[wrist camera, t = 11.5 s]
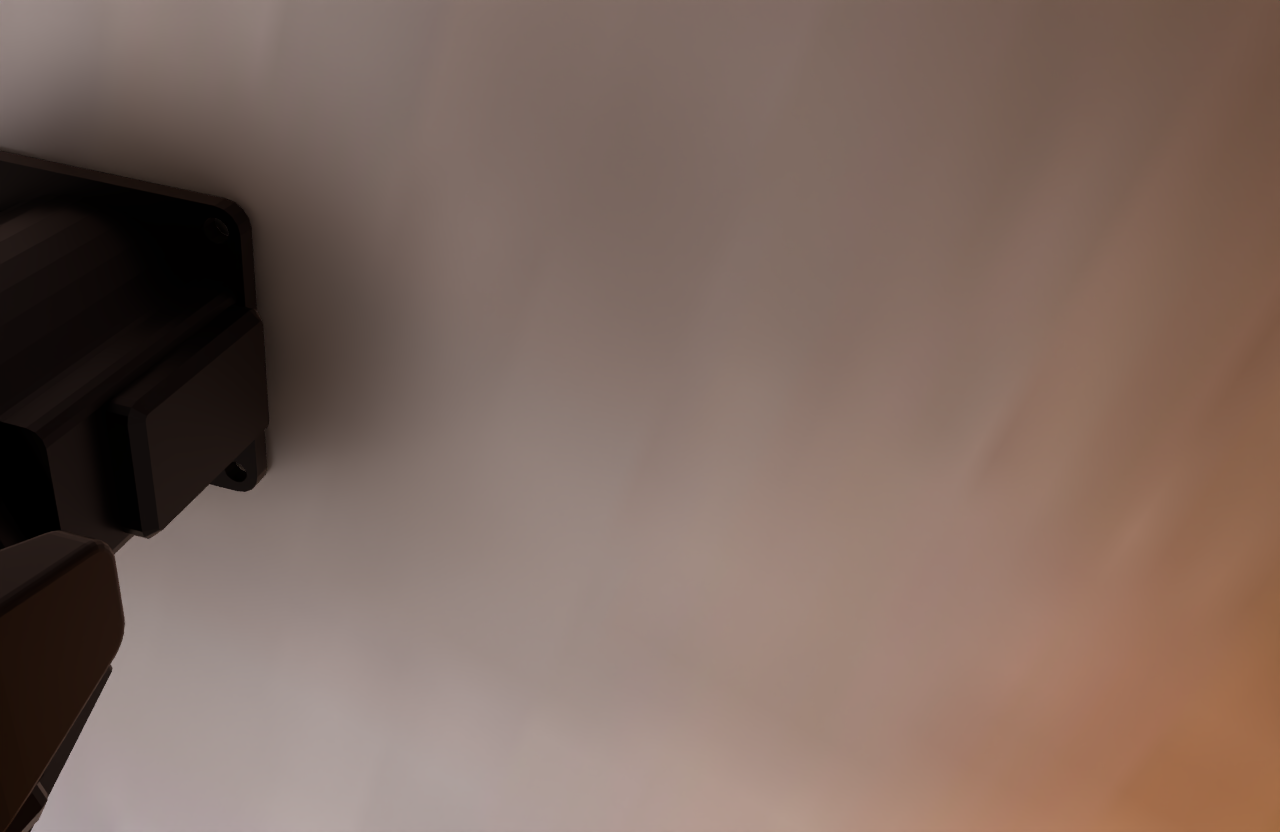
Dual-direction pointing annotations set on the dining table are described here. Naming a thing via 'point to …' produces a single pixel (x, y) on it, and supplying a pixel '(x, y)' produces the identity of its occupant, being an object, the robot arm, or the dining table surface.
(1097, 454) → the dining table surface
